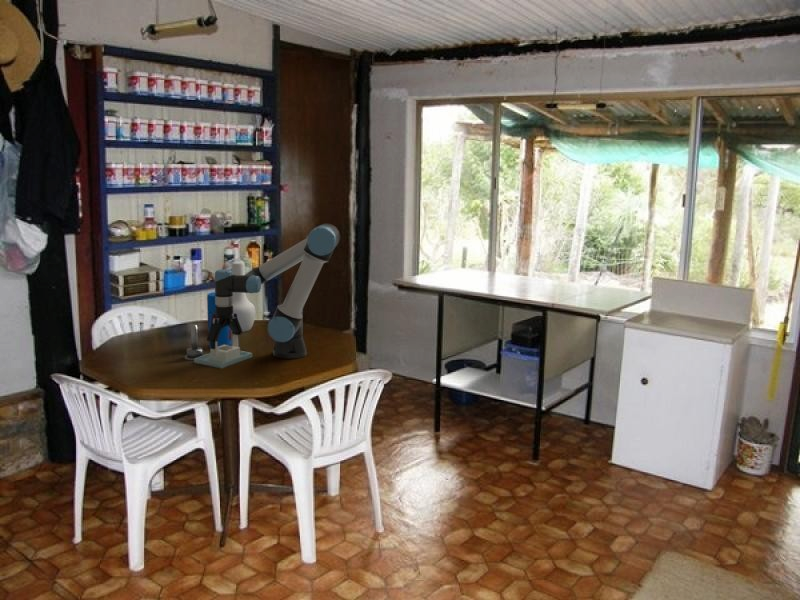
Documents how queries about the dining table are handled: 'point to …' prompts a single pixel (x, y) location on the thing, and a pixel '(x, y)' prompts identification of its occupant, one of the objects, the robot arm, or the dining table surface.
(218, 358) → the ring
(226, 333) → the thermos
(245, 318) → the vase
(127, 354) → the dining table surface
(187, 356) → the stake
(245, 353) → the tray
